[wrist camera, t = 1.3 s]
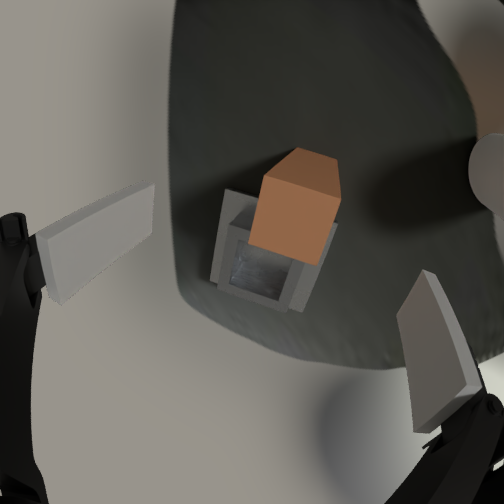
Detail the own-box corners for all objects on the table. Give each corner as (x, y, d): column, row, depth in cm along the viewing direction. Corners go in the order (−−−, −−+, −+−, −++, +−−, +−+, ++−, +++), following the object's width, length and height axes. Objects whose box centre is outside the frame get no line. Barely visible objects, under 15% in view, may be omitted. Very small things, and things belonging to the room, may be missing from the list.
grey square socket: (228, 187, 30) (212, 198, 26) (337, 221, 28) (338, 238, 24) (212, 277, 36) (198, 296, 32) (303, 308, 34) (298, 331, 30)
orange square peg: (297, 147, 26) (264, 175, 14) (336, 159, 25) (341, 199, 13) (287, 184, 28) (247, 243, 16) (325, 197, 27) (316, 266, 15)
